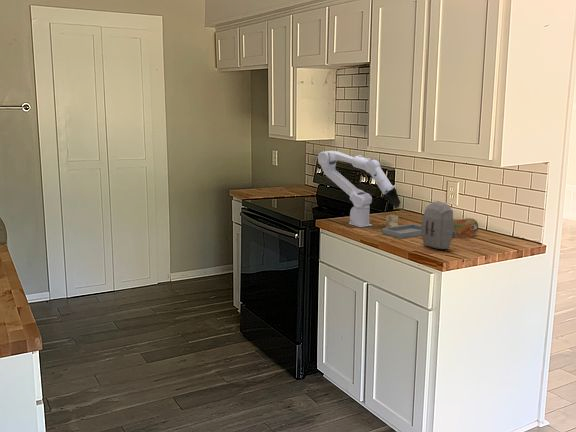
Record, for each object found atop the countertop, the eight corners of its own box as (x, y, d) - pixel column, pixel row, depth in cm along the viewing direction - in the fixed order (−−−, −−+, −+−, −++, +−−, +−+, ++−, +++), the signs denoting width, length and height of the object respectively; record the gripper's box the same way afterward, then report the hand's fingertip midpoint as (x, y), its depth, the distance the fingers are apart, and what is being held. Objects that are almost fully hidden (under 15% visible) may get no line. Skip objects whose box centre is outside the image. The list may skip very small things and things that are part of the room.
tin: (449, 238, 258) (450, 219, 256) (445, 236, 261) (446, 218, 259) (478, 236, 262) (479, 218, 260) (474, 234, 265) (475, 217, 263)
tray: (382, 233, 264) (382, 228, 264) (412, 228, 275) (412, 223, 275) (400, 238, 255) (400, 233, 254) (431, 233, 266) (431, 228, 265)
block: (385, 227, 278) (386, 215, 277) (391, 226, 280) (392, 214, 279) (391, 229, 274) (392, 216, 273) (397, 228, 277) (398, 216, 275)
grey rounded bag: (455, 250, 235) (458, 203, 231) (440, 253, 231) (443, 204, 227) (429, 242, 248) (432, 197, 244) (414, 245, 244) (417, 199, 240)
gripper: (390, 174, 264) (406, 198, 262) (389, 180, 279) (404, 203, 276) (377, 182, 265) (393, 206, 262) (377, 188, 279) (392, 211, 276)
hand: (398, 205), depth 269 cm, fingers open, 7 cm apart
